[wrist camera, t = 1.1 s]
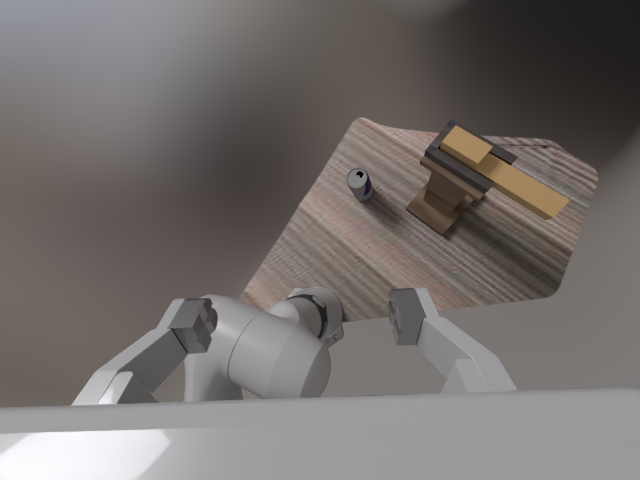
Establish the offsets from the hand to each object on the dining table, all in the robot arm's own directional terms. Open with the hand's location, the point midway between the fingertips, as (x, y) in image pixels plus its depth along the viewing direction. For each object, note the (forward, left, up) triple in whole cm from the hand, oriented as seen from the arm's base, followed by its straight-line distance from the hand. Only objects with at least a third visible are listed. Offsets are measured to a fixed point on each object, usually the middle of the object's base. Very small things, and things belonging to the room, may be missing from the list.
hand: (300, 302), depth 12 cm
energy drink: (+14, +19, -60) cm, 64 cm away
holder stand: (+24, +1, -60) cm, 64 cm away
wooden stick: (+24, -4, -33) cm, 41 cm away
